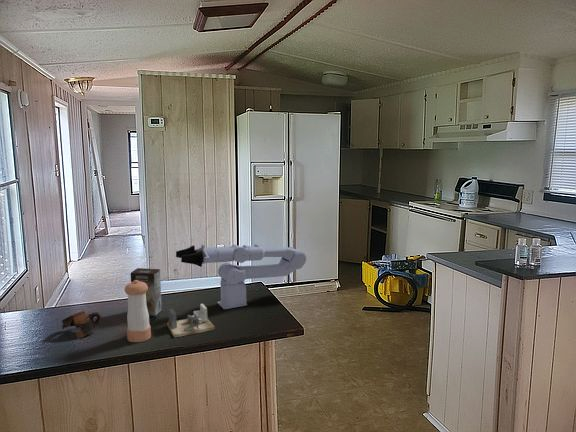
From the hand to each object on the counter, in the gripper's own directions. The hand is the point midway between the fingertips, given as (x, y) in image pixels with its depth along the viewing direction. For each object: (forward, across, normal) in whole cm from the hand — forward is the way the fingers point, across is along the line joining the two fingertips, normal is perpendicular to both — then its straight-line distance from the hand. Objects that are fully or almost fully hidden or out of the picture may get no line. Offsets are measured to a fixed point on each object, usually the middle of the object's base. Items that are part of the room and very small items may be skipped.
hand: (178, 256), depth 157 cm
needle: (-2, +17, +20) cm, 26 cm away
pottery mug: (+31, +1, +24) cm, 40 cm away
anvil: (+4, +12, +22) cm, 25 cm away
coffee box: (+9, -7, +23) cm, 25 cm away
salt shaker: (+15, +14, +23) cm, 31 cm away
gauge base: (-1, +14, +21) cm, 26 cm away
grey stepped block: (-4, +13, +20) cm, 24 cm away
